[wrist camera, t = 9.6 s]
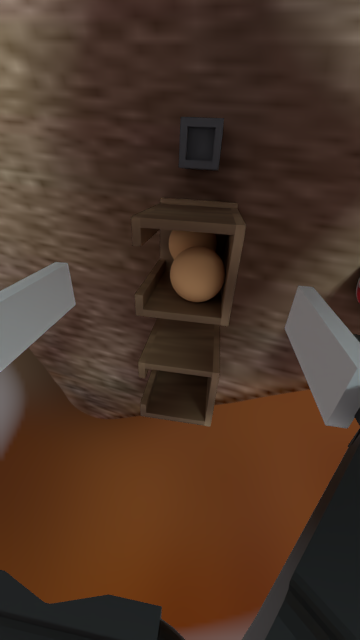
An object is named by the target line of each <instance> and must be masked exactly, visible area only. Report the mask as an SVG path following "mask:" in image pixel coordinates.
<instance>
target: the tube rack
mask: <svg viewBox="0 0 360 640" xmlns="http://www.w3.org/2000/svg"><path fill="white" fill-rule="evenodd" d="M237 207H238V203H233V202H219V201H204V200H189V199H175V198H160V204H157V205H155V206H153V207H151V208H149V209H147V210H144V211H142V212H140V213H138V214H136V215H134V216H132V217H131V230H132V246H142V245H143V244H144V243H145V242H146V241H148V240H149V239H150V238H151V237H152V236H153V235H154V234H155V233H156V232H158V231H159V230H160V260H159V261H158V263H157V264H156V265H155V267H154V268H153V270H152V271H151V272H150V274H149V275H148V277H147V278H146V279H145V281H144V282H143V284H142V285H141V286H140V288H139V289H138V291H137V292H136V293H135V311H136V316H145V317H154V318H157V320H156V323H155V325H154V327H153V329H152V332H151V334H150V336H149V339H148V341H147V343H146V345H145V348H144V350H143V352H142V355H141V357H140V359H139V361H138V371H139V378H145V377H146V375H147V372H148V369H152V371H151V374H150V377H149V380H148V383H147V386H146V389H145V391H144V394H143V397H142V400H141V403H140V412H141V416H145V417H152V418H158V419H165V420H171V421H178V422H184V423H191V424H197V425H204V426H210V425H211V420H212V414H213V409H214V403H215V397H216V392H217V386H218V381H219V375H220V325H223V326H228V325H229V319H230V314H231V308H232V303H233V297H234V292H235V286H236V280H237V275H238V269H239V264H240V258H241V253H242V247H243V241H244V236H245V230H246V224H245V222H244V220H243V218H242V217H241V215H240V213H239V211H238V209H237ZM172 230H177V231H190V232H202V233H215V235H216V239H217V247H216V251H215V253H216V254H217V255H218V256H219V257H220V258H221V260H222V262H223V264H224V267H225V280H224V284H223V286H222V288H221V290H220V291H219V292H218V293H217V294H216V295H215V296H214V297H213V298H211V299H209V300H207V301H204V302H191V301H188V300H185V299H184V298H182V297H181V296H180V295H178V294H177V292H176V291H175V290H174V288H173V286H172V283H171V279H170V270H171V266H172V263H173V261H174V259H173V257H172V255H171V253H170V250H169V237H170V234H171V232H172Z"/></svg>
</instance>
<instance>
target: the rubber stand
mask: <svg viewBox="0 0 360 640" xmlns="http://www.w3.org/2000/svg"><path fill="white" fill-rule="evenodd" d="M223 124H224V118H199V117H181V124H180V148H179V167H180V168H185V169H200V170H217V171H218V170H219V161H220V152H221V143H222V135H223Z"/></svg>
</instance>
